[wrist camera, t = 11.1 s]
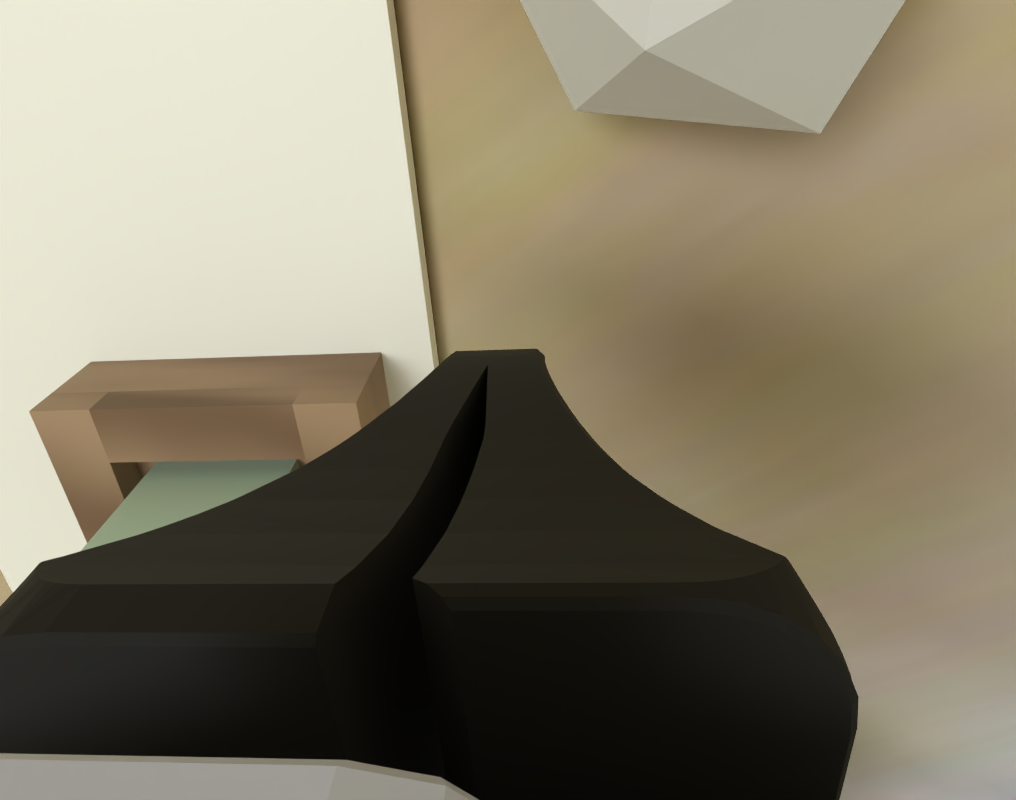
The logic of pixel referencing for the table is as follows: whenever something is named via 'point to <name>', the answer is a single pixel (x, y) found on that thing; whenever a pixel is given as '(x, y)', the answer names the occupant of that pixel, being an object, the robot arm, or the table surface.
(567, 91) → the die
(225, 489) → the sage block
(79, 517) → the walnut socket base
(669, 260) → the table surface
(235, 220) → the cream board
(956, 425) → the table surface
